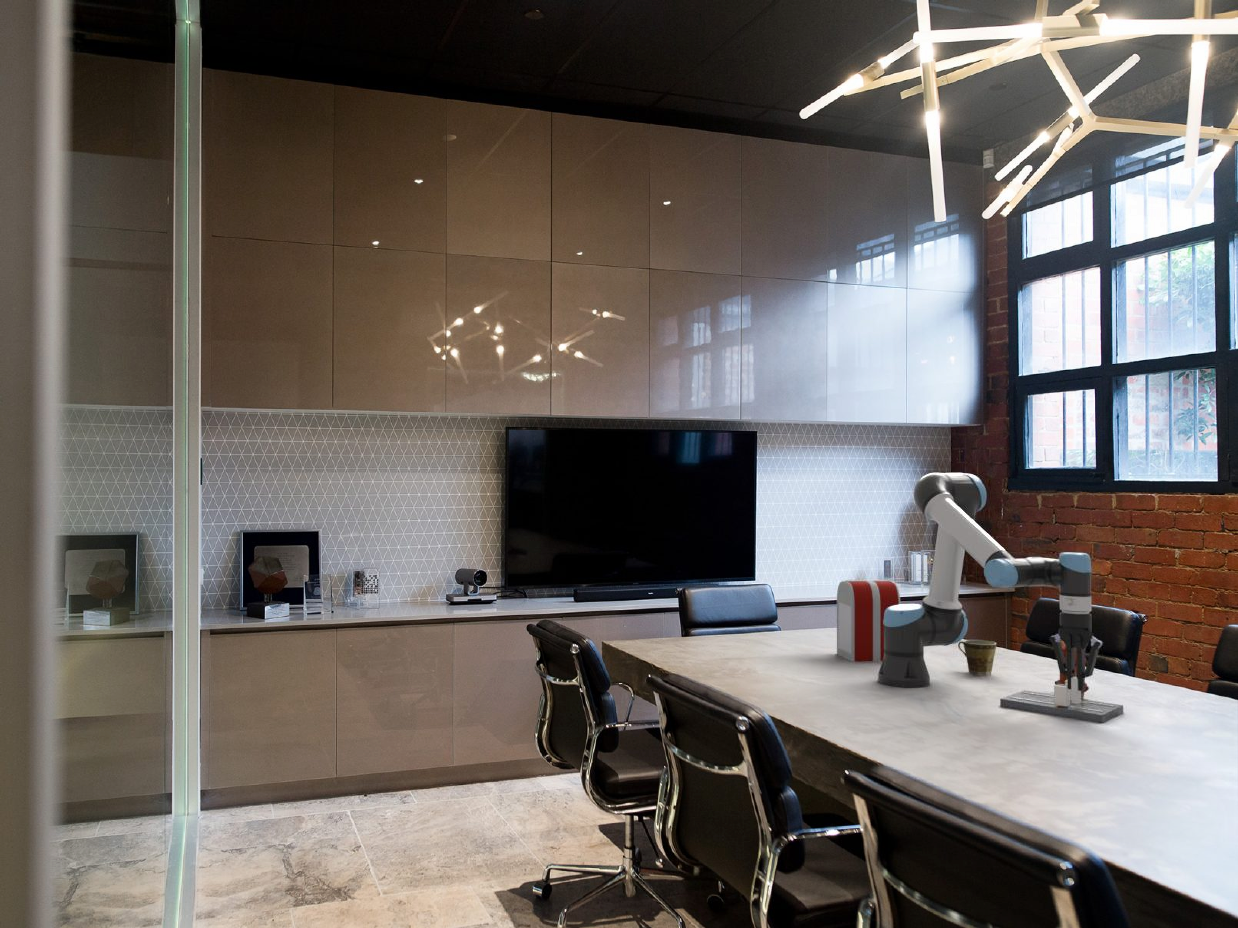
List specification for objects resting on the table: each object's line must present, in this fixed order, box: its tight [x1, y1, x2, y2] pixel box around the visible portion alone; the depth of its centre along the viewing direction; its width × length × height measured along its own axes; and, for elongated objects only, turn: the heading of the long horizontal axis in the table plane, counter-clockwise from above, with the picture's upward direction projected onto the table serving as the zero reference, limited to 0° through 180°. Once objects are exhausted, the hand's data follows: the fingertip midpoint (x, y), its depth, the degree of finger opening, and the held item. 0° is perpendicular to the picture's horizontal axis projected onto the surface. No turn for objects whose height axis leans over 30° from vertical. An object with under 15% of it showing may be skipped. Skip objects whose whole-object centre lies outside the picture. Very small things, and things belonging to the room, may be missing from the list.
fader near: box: [1053, 684, 1070, 706], centre depth 250 cm, size 3×3×5 cm
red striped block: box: [836, 579, 901, 663], centre depth 334 cm, size 16×18×27 cm
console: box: [999, 689, 1124, 724], centre depth 255 cm, size 26×16×2 cm, turn 45°
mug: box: [1054, 640, 1090, 699], centre depth 272 cm, size 15×8×15 cm, turn 168°
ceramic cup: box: [957, 639, 997, 676], centre depth 306 cm, size 13×10×10 cm
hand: (1076, 702), depth 248 cm, fingers closed
